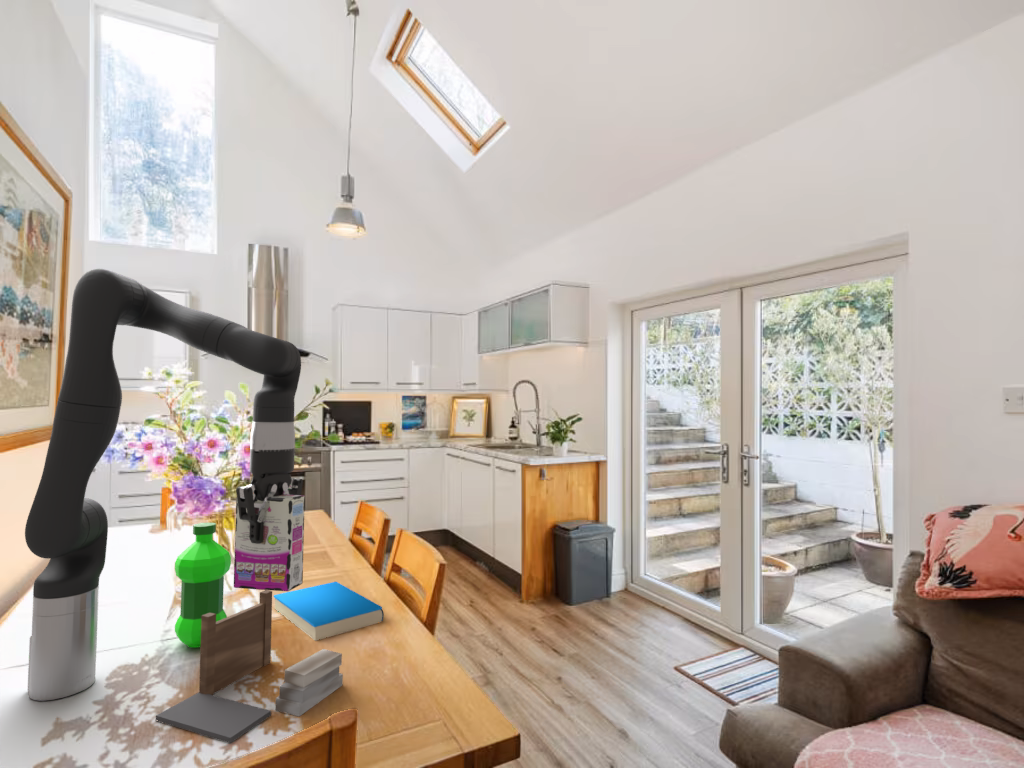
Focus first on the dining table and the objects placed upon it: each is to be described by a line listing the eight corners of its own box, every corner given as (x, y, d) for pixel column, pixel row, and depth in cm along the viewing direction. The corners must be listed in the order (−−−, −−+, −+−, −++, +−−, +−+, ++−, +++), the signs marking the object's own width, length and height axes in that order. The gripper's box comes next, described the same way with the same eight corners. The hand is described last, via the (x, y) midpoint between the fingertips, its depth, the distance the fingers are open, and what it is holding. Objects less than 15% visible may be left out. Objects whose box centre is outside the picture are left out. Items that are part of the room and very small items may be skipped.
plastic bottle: (238, 638, 120) (241, 522, 121) (190, 657, 111) (194, 532, 112) (210, 629, 125) (213, 517, 126) (162, 646, 116) (166, 526, 117)
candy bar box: (304, 583, 102) (306, 494, 103) (288, 592, 97) (291, 498, 98) (249, 579, 104) (252, 492, 105) (231, 588, 99) (234, 496, 100)
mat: (155, 720, 89) (155, 715, 89) (199, 696, 96) (199, 691, 96) (230, 743, 83) (230, 737, 83) (270, 715, 91) (271, 710, 91)
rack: (199, 697, 96) (201, 615, 97) (264, 661, 110) (266, 589, 110) (205, 699, 95) (208, 617, 96) (270, 662, 109) (272, 591, 110)
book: (314, 625, 119) (272, 594, 137) (314, 645, 119) (271, 611, 137) (385, 606, 131) (337, 579, 149) (384, 624, 131) (337, 595, 149)
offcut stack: (275, 710, 92) (276, 673, 92) (320, 679, 102) (321, 647, 103) (300, 716, 90) (301, 679, 91) (343, 685, 101) (344, 651, 101)
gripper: (285, 443, 110) (282, 529, 109) (224, 448, 96) (221, 546, 96) (316, 445, 107) (313, 533, 106) (257, 450, 94) (254, 550, 93)
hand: (269, 538), depth 101 cm, fingers closed on candy bar box, 5 cm apart
